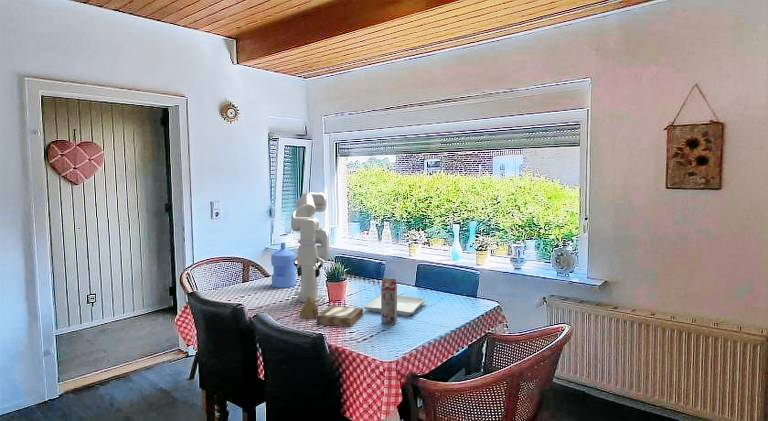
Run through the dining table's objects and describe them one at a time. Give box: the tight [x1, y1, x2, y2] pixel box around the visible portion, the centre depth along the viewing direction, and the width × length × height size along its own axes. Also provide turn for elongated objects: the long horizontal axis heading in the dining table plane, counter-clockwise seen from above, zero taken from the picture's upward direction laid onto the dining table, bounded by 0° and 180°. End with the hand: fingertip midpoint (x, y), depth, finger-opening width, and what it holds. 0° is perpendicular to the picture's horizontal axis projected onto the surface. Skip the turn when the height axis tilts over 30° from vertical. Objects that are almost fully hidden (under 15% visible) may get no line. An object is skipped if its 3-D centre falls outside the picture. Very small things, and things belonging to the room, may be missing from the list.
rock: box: [298, 297, 319, 320], centre depth 245 cm, size 11×9×10 cm
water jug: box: [270, 242, 297, 289], centre depth 313 cm, size 16×16×28 cm
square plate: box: [363, 294, 427, 316], centre depth 261 cm, size 27×27×4 cm
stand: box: [315, 305, 364, 327], centre depth 241 cm, size 18×18×4 cm
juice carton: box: [380, 277, 398, 326], centre depth 235 cm, size 7×7×22 cm
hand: (308, 276), depth 244 cm, fingers open, 9 cm apart
